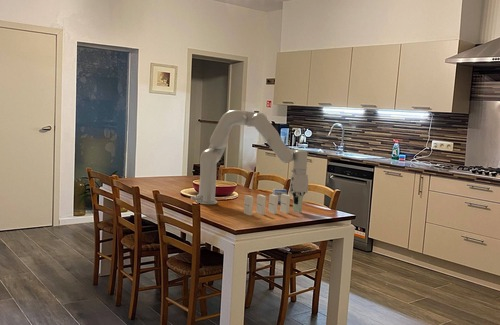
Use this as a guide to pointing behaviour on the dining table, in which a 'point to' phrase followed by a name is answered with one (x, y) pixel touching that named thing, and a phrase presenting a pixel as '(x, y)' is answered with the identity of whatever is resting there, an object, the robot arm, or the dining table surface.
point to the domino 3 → (273, 204)
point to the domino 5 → (298, 205)
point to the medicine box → (279, 193)
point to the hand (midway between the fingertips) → (297, 203)
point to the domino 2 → (261, 204)
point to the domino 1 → (248, 204)
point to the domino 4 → (285, 203)
